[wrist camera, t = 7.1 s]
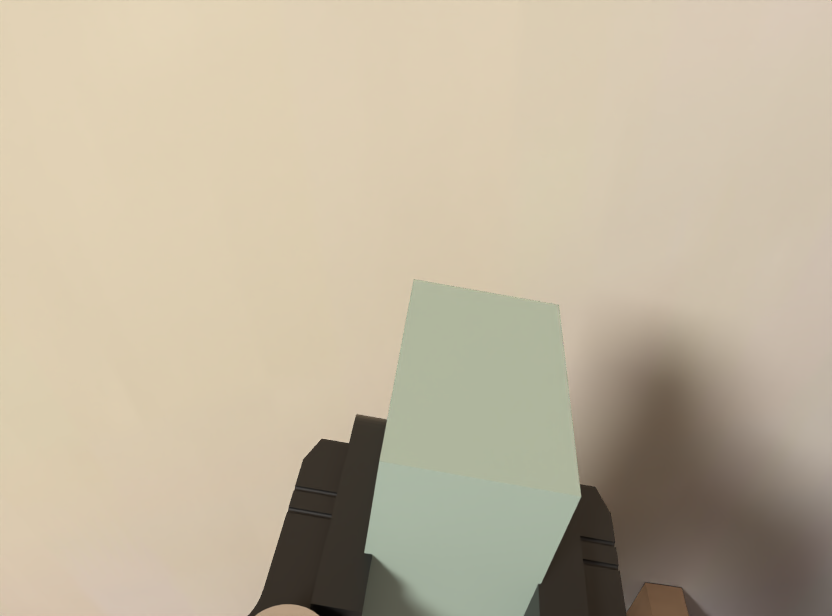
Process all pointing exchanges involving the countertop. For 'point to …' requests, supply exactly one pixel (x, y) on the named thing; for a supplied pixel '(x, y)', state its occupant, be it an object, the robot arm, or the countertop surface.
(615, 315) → the countertop surface
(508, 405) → the sage stick
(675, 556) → the countertop surface
